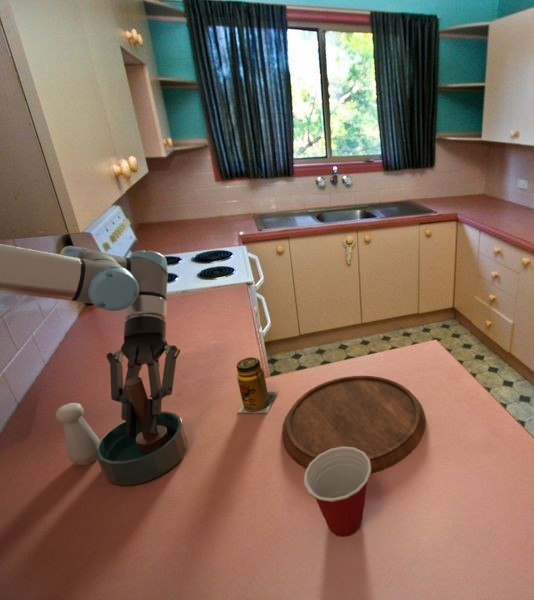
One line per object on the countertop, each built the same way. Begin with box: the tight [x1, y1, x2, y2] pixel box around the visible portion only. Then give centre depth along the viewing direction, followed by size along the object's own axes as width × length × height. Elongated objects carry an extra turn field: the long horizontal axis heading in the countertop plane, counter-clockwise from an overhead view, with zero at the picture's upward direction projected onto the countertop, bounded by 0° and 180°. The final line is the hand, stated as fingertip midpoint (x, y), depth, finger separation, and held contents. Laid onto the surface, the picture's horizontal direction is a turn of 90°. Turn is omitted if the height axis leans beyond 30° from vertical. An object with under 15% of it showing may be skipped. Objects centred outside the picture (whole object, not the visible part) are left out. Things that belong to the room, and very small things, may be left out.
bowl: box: [96, 410, 189, 486], centre depth 87 cm, size 15×15×6 cm
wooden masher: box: [124, 376, 170, 456], centre depth 84 cm, size 6×6×16 cm
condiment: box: [236, 356, 279, 414], centre depth 102 cm, size 7×8×12 cm
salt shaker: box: [55, 402, 100, 466], centre depth 86 cm, size 6×6×13 cm
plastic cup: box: [303, 447, 372, 538], centre depth 70 cm, size 11×11×12 cm
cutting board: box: [281, 375, 426, 475], centre depth 96 cm, size 32×32×2 cm
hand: (140, 435), depth 82 cm, fingers closed on wooden masher, 3 cm apart
